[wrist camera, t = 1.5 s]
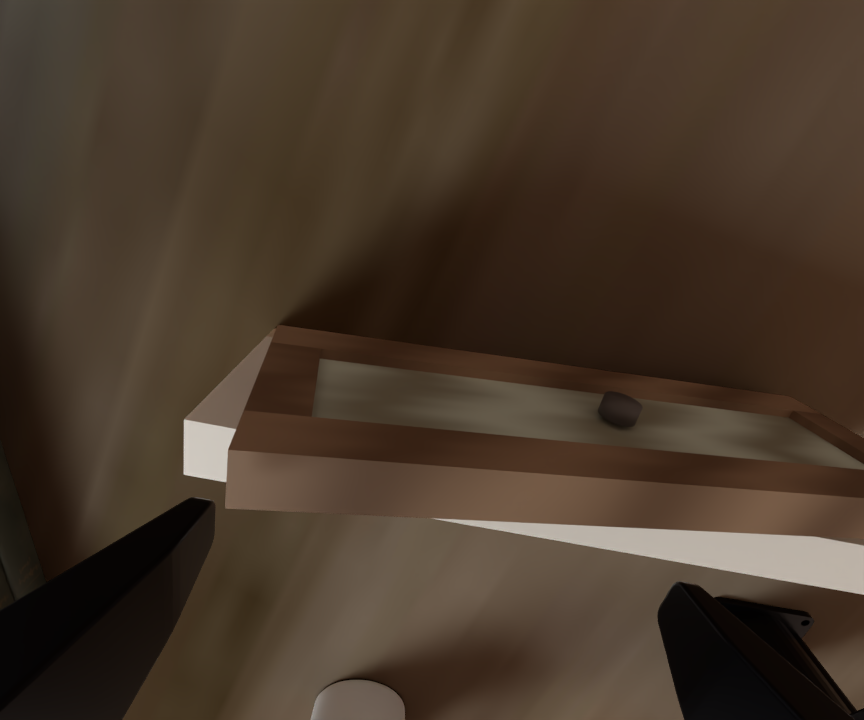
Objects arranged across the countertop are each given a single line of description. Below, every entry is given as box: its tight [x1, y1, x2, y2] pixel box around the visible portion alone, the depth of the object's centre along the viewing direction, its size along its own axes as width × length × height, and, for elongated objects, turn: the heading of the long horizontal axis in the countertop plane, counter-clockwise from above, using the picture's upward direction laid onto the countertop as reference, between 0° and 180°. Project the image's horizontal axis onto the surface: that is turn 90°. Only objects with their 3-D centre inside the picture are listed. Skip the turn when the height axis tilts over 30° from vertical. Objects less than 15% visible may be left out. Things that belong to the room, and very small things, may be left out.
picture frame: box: [225, 325, 864, 539], centre depth 15 cm, size 22×2×7 cm, turn 78°
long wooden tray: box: [184, 328, 864, 595], centre depth 19 cm, size 26×6×8 cm, turn 78°
